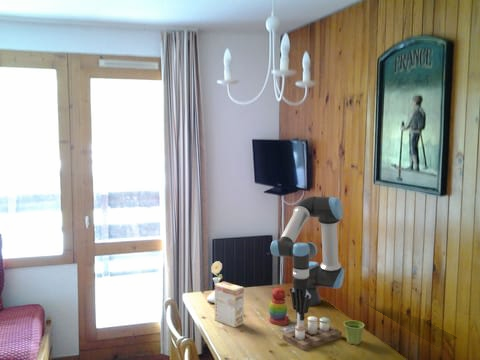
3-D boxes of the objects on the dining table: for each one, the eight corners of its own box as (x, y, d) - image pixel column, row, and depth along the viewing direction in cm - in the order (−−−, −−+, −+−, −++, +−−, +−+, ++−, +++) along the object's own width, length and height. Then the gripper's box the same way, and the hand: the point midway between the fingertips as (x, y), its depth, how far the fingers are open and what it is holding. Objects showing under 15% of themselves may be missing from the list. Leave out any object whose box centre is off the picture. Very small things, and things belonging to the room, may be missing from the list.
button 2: (324, 330, 221) (324, 316, 220) (331, 333, 217) (331, 319, 216) (317, 332, 218) (317, 318, 217) (324, 335, 214) (324, 322, 213)
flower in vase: (204, 299, 266) (204, 258, 264) (222, 297, 270) (221, 256, 268) (212, 306, 254) (212, 263, 252) (230, 303, 258) (230, 261, 257)
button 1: (300, 337, 211) (300, 324, 211) (307, 341, 208) (307, 327, 207) (292, 340, 209) (292, 326, 208) (299, 344, 205) (299, 329, 204)
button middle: (312, 329, 216) (312, 315, 215) (319, 332, 212) (319, 318, 211) (305, 331, 213) (305, 317, 213) (312, 335, 209) (312, 320, 209)
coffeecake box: (244, 324, 230) (244, 287, 228) (234, 328, 224) (234, 290, 223) (223, 316, 240) (223, 280, 238) (214, 320, 235) (214, 283, 233)
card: (299, 323, 231) (299, 322, 231) (307, 327, 226) (307, 325, 226) (278, 329, 223) (278, 328, 223) (286, 333, 218) (286, 332, 218)
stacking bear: (287, 326, 227) (287, 292, 226) (267, 324, 229) (267, 290, 228) (289, 318, 237) (289, 285, 236) (270, 316, 239) (270, 284, 238)
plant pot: (352, 348, 202) (353, 329, 202) (339, 340, 211) (339, 322, 210) (368, 343, 207) (368, 325, 206) (354, 336, 215) (354, 318, 214)
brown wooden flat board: (320, 327, 226) (320, 322, 225) (341, 336, 214) (341, 331, 214) (282, 339, 211) (282, 334, 211) (303, 350, 200) (303, 345, 200)
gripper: (285, 274, 209) (284, 323, 211) (304, 281, 198) (303, 333, 200) (297, 272, 213) (296, 320, 215) (316, 278, 203) (315, 329, 204)
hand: (300, 326), depth 208 cm, fingers closed
